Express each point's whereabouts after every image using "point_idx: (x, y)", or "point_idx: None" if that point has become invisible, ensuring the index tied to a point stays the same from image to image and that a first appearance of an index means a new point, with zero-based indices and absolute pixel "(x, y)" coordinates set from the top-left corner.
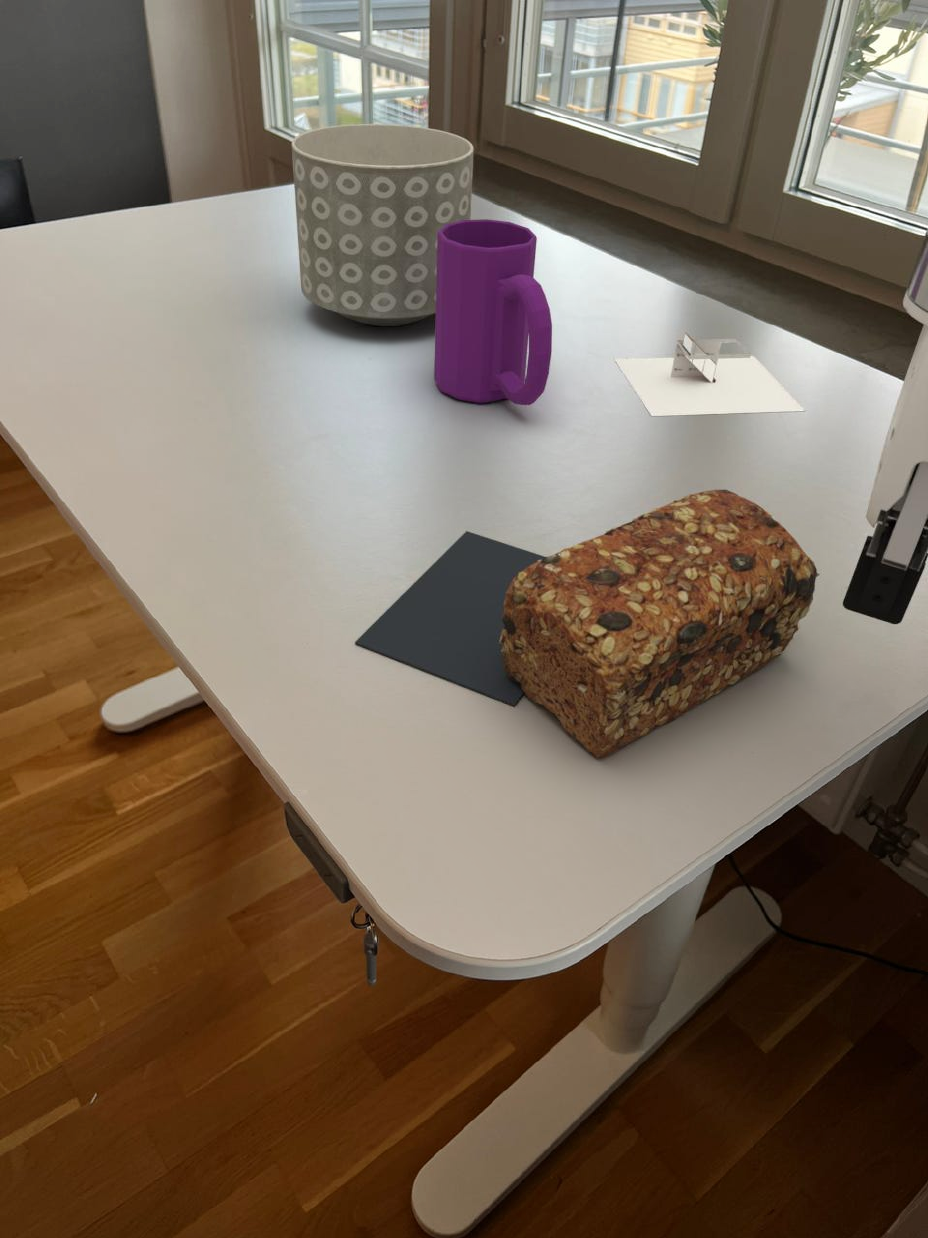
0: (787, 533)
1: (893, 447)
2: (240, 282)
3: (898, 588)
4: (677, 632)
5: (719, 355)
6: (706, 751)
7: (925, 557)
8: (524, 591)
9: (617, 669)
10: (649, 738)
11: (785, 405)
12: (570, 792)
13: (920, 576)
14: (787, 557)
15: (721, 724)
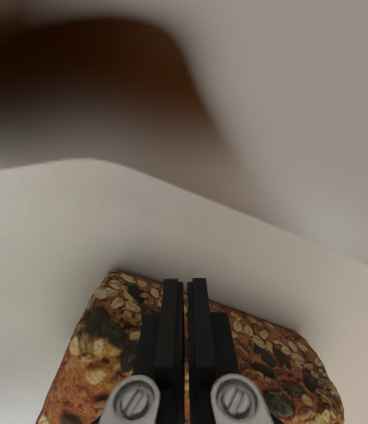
0: (70, 398)
1: None
2: None
3: (234, 348)
4: (293, 416)
5: None
6: (256, 283)
7: (173, 368)
8: None
9: (340, 420)
10: (262, 315)
11: None
12: (332, 336)
13: (213, 347)
14: (113, 384)
15: (223, 282)
